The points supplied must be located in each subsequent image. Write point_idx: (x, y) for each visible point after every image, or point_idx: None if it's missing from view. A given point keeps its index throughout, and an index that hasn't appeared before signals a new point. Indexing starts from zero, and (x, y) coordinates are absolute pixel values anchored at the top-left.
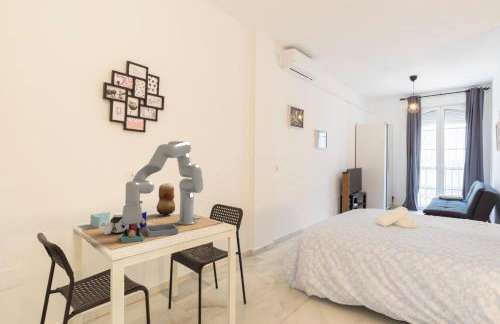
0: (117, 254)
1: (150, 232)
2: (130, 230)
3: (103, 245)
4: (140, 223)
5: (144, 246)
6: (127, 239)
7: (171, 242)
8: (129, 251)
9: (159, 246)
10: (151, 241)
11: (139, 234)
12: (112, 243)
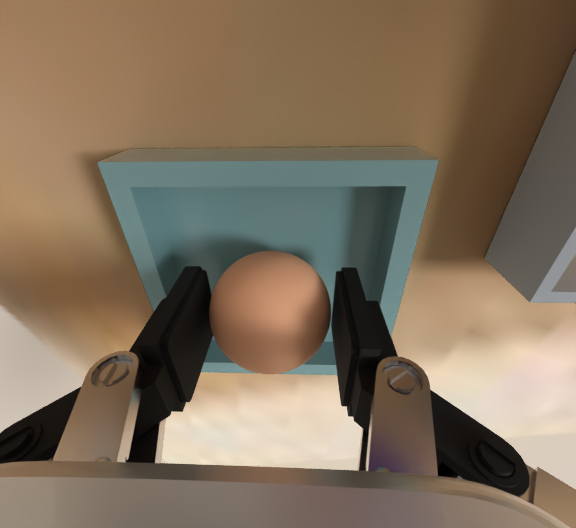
0: (187, 460)
1: (540, 296)
2: (240, 357)
3: (38, 332)
4: (464, 476)
5: (341, 427)
6: (224, 368)
7: (540, 427)
8: (245, 452)
9: None
10: (428, 373)
11: (390, 226)
12: (99, 314)
